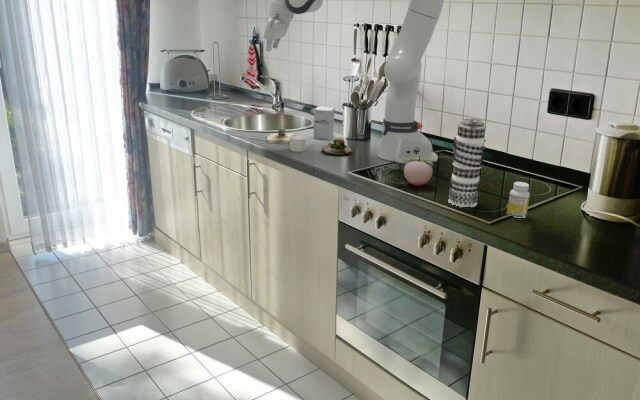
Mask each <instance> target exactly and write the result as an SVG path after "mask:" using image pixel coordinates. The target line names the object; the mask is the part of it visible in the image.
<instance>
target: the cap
mask: <svg viewBox="0 0 640 400" xmlns="http://www.w3.org/2000/svg"><path fill="white" fill-rule="evenodd" d="M289 144H290V145H289V147H290V148H289V150H290V151H291V152H294V153H295V152H298V153H300V152H306V151H307V137H306V136H305V135H297V134H296V135H295V136H291V137H290V143H289Z"/></svg>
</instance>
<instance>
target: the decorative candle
mask: <svg viewBox="0 0 640 400" xmlns="http://www.w3.org/2000/svg"><path fill="white" fill-rule="evenodd" d="M457 125H458V126H457V134H456V136H454V138H453V141H454V142H453V144H452V146H453V150H452V156H451V158H452V159H453V160H452V163H451V164H452V166H453V168H452V169H453V170H452V173H451V178H450V184H449V187H450V189H448V193H449V194H448V201H447V202H448V204H449V203H451V204H452V205H451V204H450V205H451V206H453V205H456V206H455V207H457V206H459V207H458V208H462V207H471V208H474V207H477V205H478V200H479V198H478V197H479V195H480V194H479V190H480V185H481V182H480V177H481V176H480V173H481V169H482V168H483V161H484V158H483V157H482V156H484V155H486V152H485V150H486V146H485V145H484V143H486V139H485V138H486V137H485V133H486V129H487V127H488V126H487V125H485V123H484V121H483V120H482V119H478V118H464V119H462V120H461V121H460V123H458V124H457Z"/></svg>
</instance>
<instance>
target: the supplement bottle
mask: <svg viewBox="0 0 640 400" xmlns="http://www.w3.org/2000/svg"><path fill="white" fill-rule="evenodd" d="M529 187H530V185H529V183H527V182H523V181H515V182H514V183H513V189H511V190H510V191H509V196H508V202H507V203H508V204H507V207H506V208H507V209H506V215H507V214H508V215H511V216H513V217H515V218H524V219H525V218H526V217H527V214H528V208H529V202H530V198H531V196H530V195H531V193H530V192H529V189H530V188H529Z"/></svg>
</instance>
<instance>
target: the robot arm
mask: <svg viewBox="0 0 640 400" xmlns="http://www.w3.org/2000/svg"><path fill="white" fill-rule="evenodd" d="M323 1H324V0H271V1H270V6H269V9H268V13H267V15H269V16H270V18H268V21H267V24H266V25H265V30H264V33H263V39H264V40H266V44H265V45H266V46H265V51H266V52H269V53H270V52H271V51H272V49H278V47H279V44H280V42H281V40H282V38H284V37H285V36H286V35H287V32H288V30H289V26H290V23H291V21H292V19H293V18H294V15H303V14H306V13H307V14H309V13H314V12H316V11H318V10H319V9H320V8H321V7H322V5H323ZM444 2H445V0H410V3H409V6H408V9H407V11H406V13H405V17H404V20H403V22H402V25H401V27H400V30H399V32H398V35H397V36H396V39H395V41H394V42H393V43H394V44H392V47H391V49H390V53H389V55H388V56H387V59H386V61H385V63H384V66H383V72H384V76H385V78H386V79H387V81H388V82H389V83H388V88H387V93H386V97H385V105H384V106H385V107H384V109H385V110H384V118H383V119H382V120H383V121H382V129H381V133H382V138H381V144H380V147H379V151H378V153H377V157H378V158H379V159H383V160H384V161H391V162H394V161H395V163H398V164H406V163H407V162H409V161H406V162H404V161H405V160H407V159H410V158H415V159H418V160H419V156H420V160H428V161H430V162H432V163H433V162H438V159H439V157H438V155H437V154H436V153H435V152H434V151H433V145H432V143H431V141H430V139H429V138H428V137H426V136H425V135H424V134H423V133H421V132H420V131H419V130H422V129H423V128H424V125H423V124H422V123H421V122H418V121H417V120H415V117H416V116H415V115H416V108H417V107H416V104H417V96H418V91H419V85H420V79H421V73H422V66H423V65H422V63H423V62H422V58H423V56H424V54H425V52H426V50H427V47H429V46H428V45H429V43H430V41H431V39H432V36H433V34H434V32H435V28H436V26H437V24H438V20H439V18H440V15H441V13H442V9H443V6H444Z"/></svg>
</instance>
